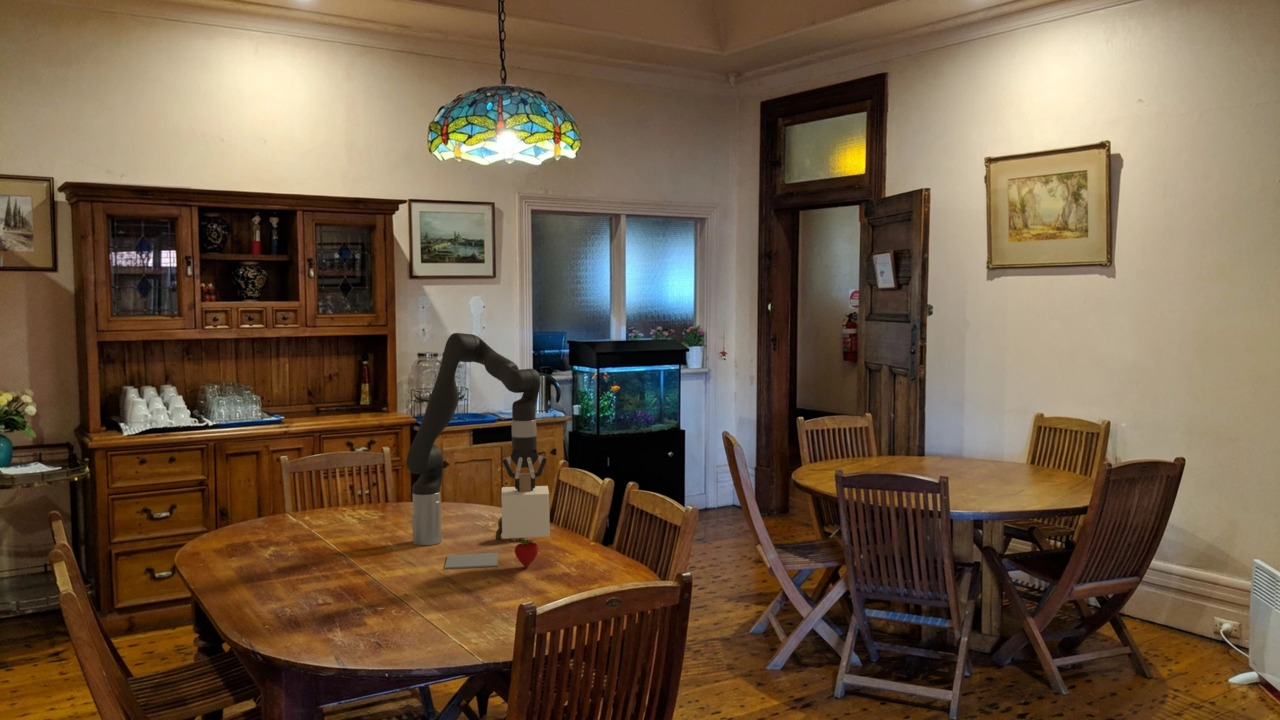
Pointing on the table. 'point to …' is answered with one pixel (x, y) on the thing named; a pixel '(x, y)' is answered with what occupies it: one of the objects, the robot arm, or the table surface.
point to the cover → (525, 510)
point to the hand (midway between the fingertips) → (525, 490)
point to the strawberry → (526, 551)
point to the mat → (472, 560)
